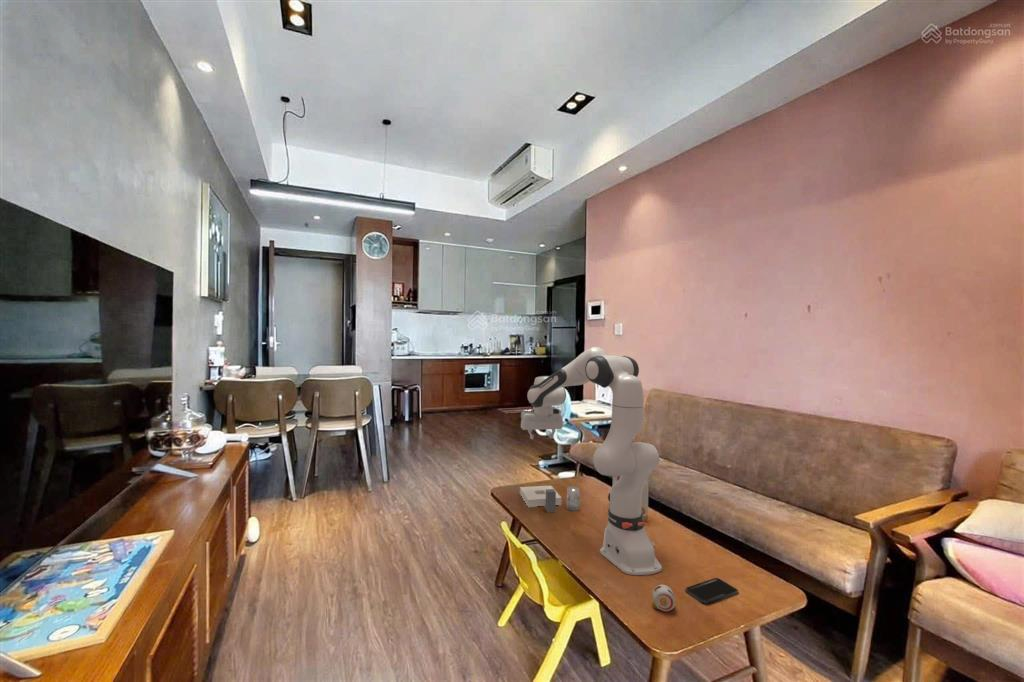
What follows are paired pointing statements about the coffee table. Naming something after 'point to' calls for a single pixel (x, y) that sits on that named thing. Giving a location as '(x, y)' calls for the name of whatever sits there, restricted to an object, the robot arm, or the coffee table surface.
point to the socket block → (537, 496)
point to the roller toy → (663, 598)
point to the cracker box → (644, 499)
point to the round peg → (573, 498)
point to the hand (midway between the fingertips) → (541, 438)
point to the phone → (711, 591)
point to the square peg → (550, 500)
